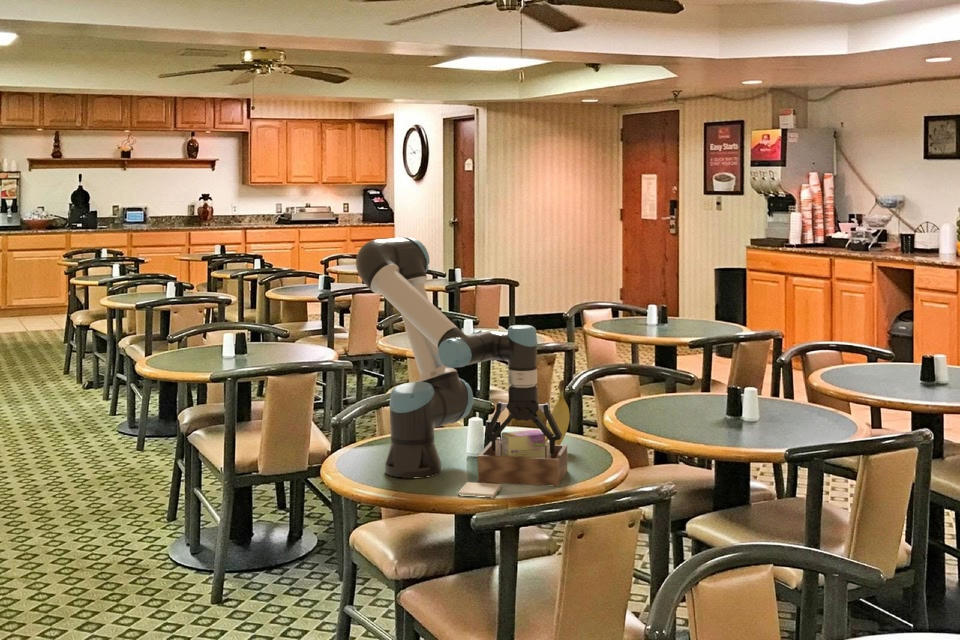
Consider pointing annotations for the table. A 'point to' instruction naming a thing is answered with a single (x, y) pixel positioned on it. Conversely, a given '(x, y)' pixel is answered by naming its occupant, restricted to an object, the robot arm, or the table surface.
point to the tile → (480, 489)
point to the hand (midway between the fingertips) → (523, 464)
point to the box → (523, 444)
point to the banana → (560, 415)
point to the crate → (522, 467)
